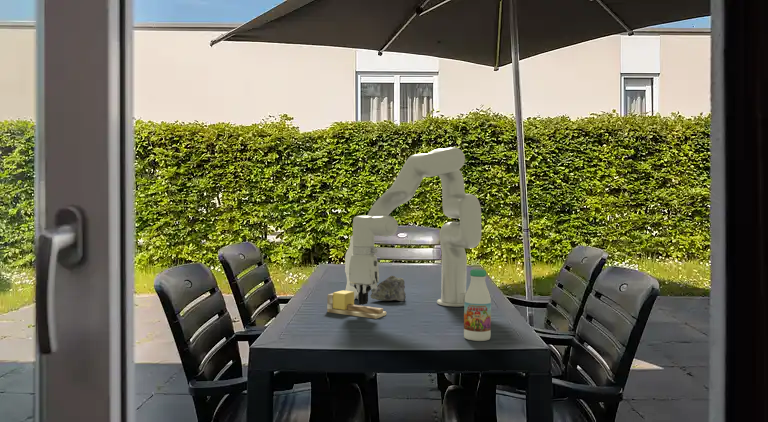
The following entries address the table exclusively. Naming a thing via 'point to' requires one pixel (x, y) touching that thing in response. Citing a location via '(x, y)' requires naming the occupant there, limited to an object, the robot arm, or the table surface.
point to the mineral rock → (390, 290)
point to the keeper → (343, 299)
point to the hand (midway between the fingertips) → (363, 303)
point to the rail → (357, 313)
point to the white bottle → (347, 263)
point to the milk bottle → (477, 308)
